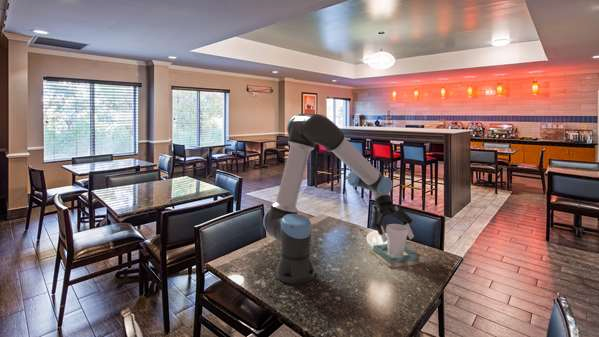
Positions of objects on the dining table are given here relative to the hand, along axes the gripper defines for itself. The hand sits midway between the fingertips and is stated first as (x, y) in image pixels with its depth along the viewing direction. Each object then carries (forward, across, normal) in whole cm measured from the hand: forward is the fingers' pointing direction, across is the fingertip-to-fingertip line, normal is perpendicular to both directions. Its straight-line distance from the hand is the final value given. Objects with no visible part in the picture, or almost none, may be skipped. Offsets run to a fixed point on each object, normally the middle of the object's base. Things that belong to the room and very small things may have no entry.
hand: (398, 239), depth 145 cm
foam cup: (+5, 0, -7) cm, 8 cm away
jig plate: (+5, 0, -7) cm, 9 cm away
